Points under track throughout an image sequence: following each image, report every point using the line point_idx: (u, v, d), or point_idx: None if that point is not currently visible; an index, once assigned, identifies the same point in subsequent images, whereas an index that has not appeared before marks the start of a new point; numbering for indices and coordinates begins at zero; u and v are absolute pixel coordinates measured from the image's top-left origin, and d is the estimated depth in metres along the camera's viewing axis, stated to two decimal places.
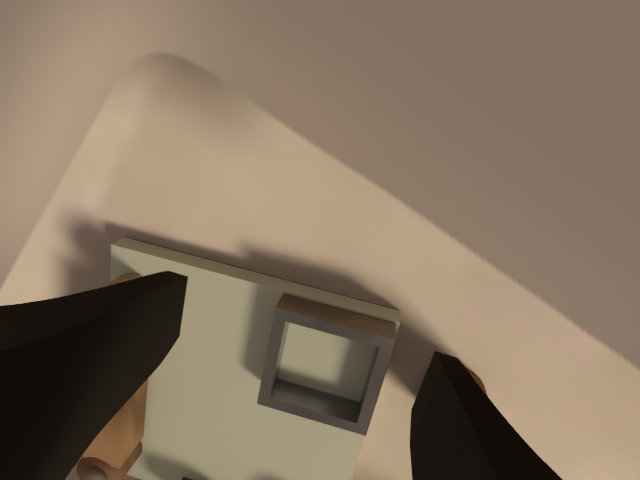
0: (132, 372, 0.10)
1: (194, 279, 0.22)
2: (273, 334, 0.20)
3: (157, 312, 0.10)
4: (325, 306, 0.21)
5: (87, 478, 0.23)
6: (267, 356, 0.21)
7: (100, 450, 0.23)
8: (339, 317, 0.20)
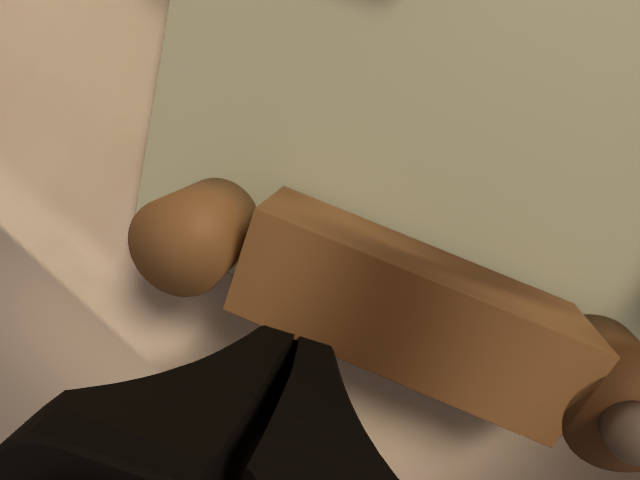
0: (269, 418, 0.10)
1: (183, 83, 0.11)
2: None
3: (292, 354, 0.10)
4: None
5: (623, 446, 0.09)
6: None
7: (545, 383, 0.09)
8: None
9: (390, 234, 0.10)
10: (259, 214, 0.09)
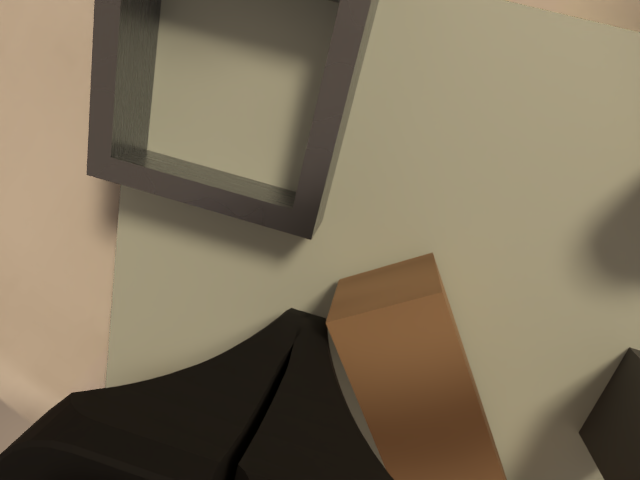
0: None
1: (131, 314, 0.14)
2: (142, 184, 0.10)
3: None
4: None
5: None
6: (193, 202, 0.10)
7: None
8: None
9: (467, 360, 0.11)
10: (440, 299, 0.09)
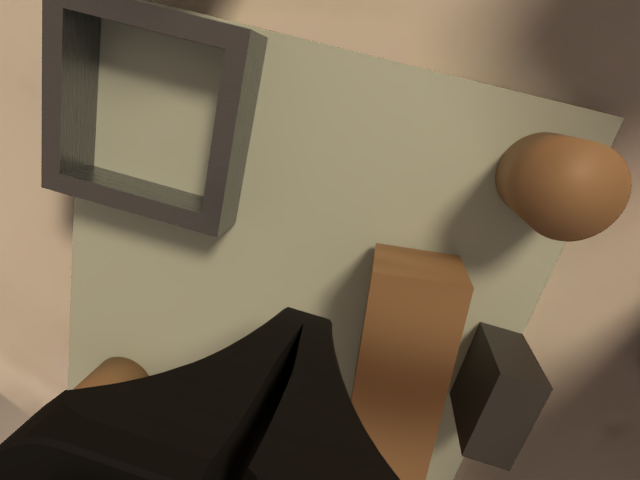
0: (270, 417, 0.10)
1: (87, 301, 0.16)
2: (85, 194, 0.13)
3: (292, 354, 0.10)
4: None
5: None
6: (125, 208, 0.13)
7: None
8: None
9: None
10: (469, 293, 0.11)
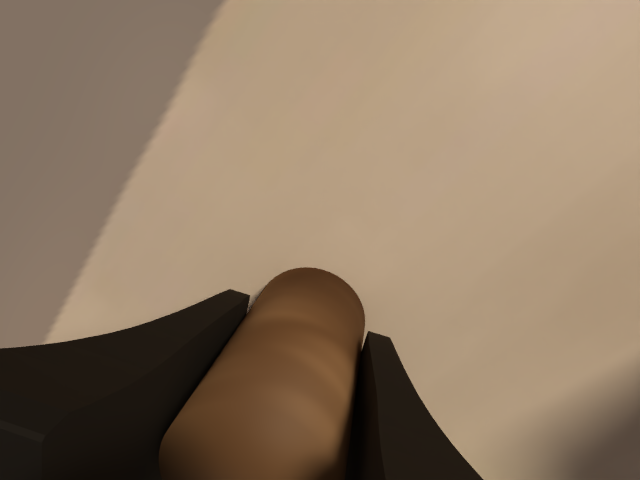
0: None
1: None
2: None
3: (226, 334, 0.10)
4: None
5: None
6: None
7: None
8: None
9: None
10: None
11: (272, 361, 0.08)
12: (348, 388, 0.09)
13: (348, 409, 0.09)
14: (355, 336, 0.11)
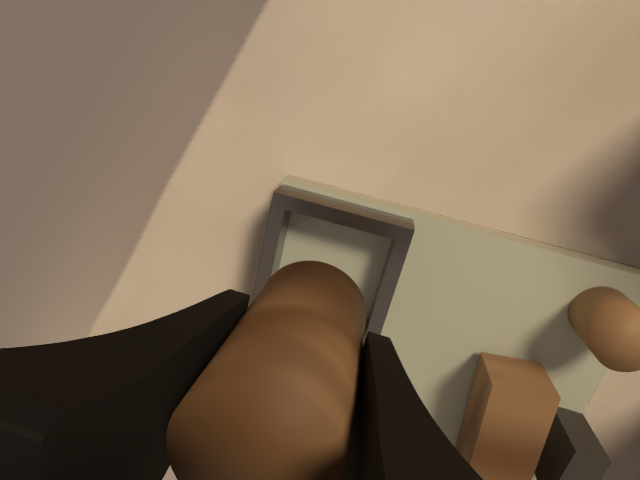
0: None
1: None
2: None
3: (226, 334, 0.10)
4: None
5: None
6: None
7: None
8: None
9: None
10: (558, 401, 0.17)
11: (279, 344, 0.08)
12: (352, 375, 0.09)
13: (352, 394, 0.09)
14: (358, 327, 0.11)
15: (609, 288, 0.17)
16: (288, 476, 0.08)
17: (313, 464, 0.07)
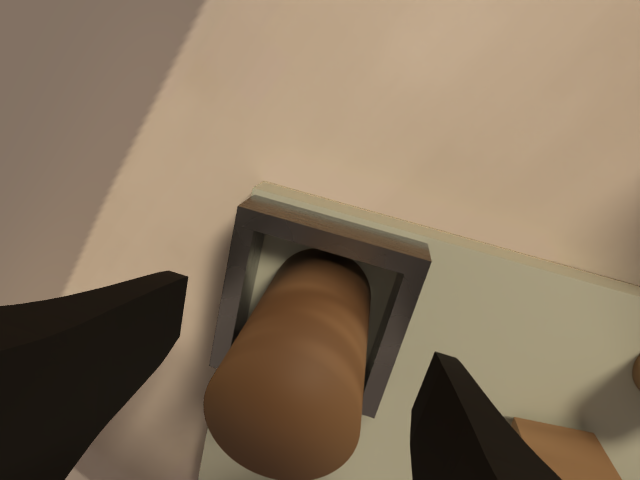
0: (132, 372, 0.10)
1: None
2: None
3: (157, 312, 0.10)
4: None
5: None
6: None
7: None
8: None
9: None
10: None
11: (299, 321, 0.10)
12: (362, 348, 0.10)
13: (362, 364, 0.10)
14: (365, 307, 0.12)
15: None
16: (309, 432, 0.09)
17: (331, 421, 0.09)
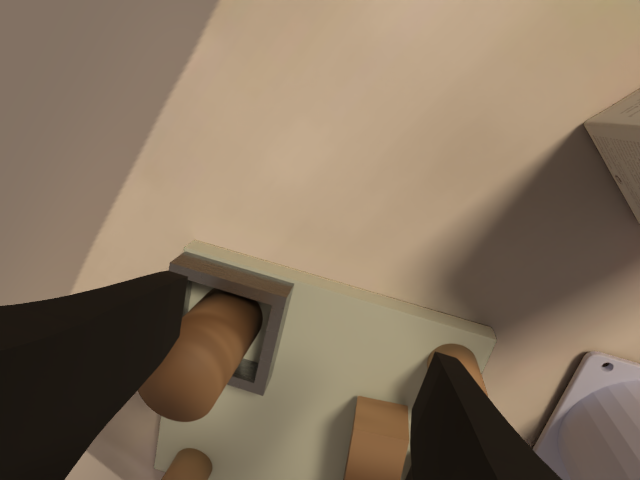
0: (132, 373, 0.10)
1: None
2: None
3: (157, 312, 0.10)
4: None
5: None
6: None
7: None
8: None
9: None
10: (407, 443, 0.20)
11: (191, 332, 0.17)
12: (232, 350, 0.18)
13: (229, 359, 0.18)
14: (247, 325, 0.20)
15: (457, 345, 0.20)
16: (190, 393, 0.16)
17: (201, 387, 0.16)
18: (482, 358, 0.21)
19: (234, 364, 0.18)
